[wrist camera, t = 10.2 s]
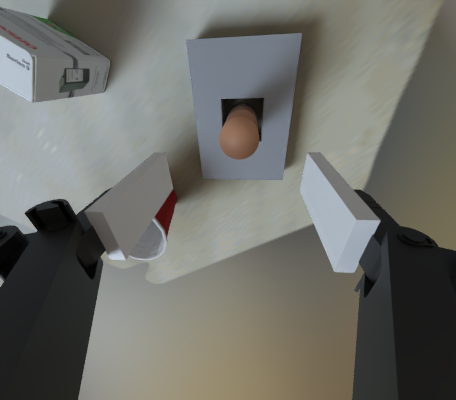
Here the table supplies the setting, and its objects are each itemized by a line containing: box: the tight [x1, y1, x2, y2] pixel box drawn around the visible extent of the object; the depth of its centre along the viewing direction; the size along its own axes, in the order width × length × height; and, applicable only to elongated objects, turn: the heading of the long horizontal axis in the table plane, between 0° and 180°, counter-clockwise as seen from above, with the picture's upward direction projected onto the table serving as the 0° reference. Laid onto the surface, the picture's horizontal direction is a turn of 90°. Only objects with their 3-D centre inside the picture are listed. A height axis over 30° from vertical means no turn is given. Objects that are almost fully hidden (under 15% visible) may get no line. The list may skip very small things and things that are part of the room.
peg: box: [219, 104, 259, 160], centre depth 24 cm, size 4×4×12 cm
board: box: [186, 33, 302, 180], centre depth 28 cm, size 18×13×3 cm
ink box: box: [0, 7, 110, 103], centre depth 22 cm, size 9×5×12 cm, turn 58°
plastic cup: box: [128, 190, 176, 260], centre depth 33 cm, size 11×11×12 cm
